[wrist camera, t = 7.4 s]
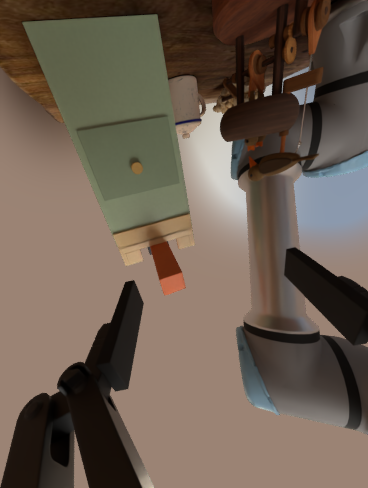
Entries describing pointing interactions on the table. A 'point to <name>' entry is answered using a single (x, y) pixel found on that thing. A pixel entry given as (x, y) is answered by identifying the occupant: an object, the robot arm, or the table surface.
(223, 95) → the mineral formation
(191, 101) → the teacup with lid
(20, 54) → the table surface
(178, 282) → the bar
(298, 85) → the music box
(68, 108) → the drawer stand
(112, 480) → the robot arm
